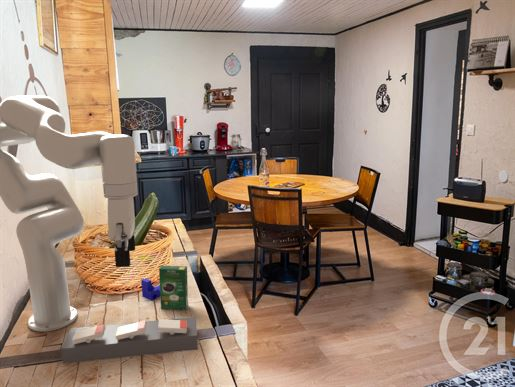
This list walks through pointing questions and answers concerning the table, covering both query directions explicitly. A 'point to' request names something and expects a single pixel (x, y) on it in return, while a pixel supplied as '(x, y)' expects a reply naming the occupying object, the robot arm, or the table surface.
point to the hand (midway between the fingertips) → (126, 258)
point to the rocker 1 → (89, 334)
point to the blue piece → (149, 290)
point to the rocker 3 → (172, 326)
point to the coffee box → (173, 287)
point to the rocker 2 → (131, 330)
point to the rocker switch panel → (130, 343)
